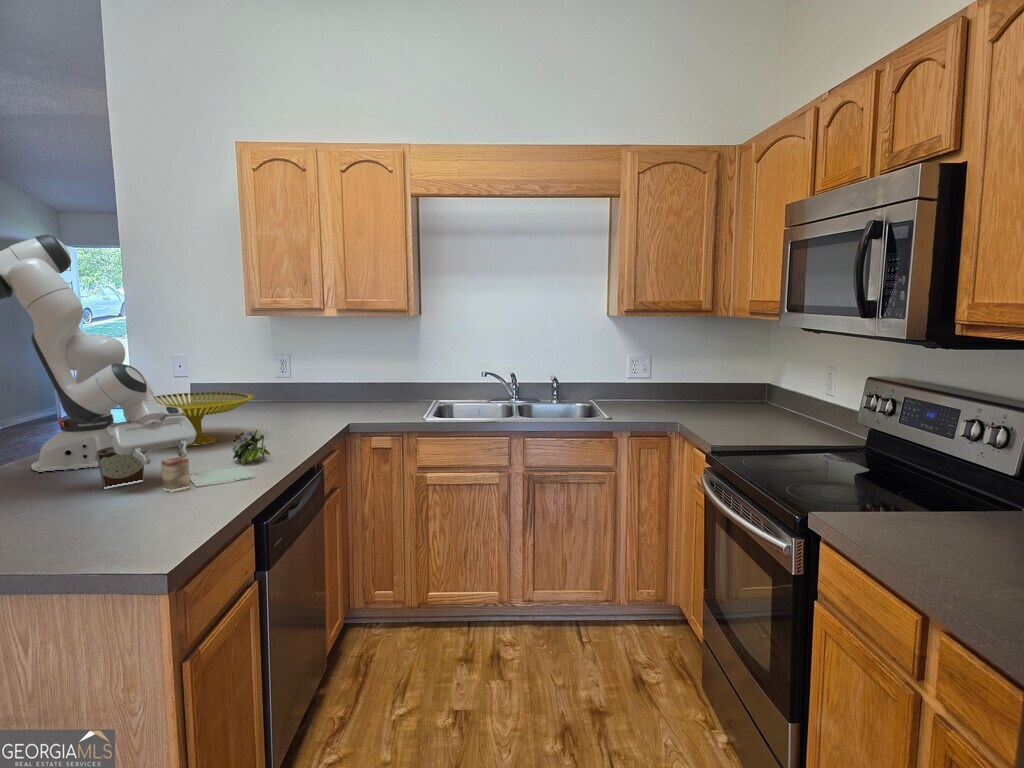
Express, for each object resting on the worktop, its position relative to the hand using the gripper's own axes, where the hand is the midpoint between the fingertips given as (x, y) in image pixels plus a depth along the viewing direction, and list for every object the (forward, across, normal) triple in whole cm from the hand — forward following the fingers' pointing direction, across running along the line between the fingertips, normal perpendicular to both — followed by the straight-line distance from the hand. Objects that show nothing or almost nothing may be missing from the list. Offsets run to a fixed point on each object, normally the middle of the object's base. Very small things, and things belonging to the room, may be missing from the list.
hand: (165, 459), depth 169 cm
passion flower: (-1, +30, +12) cm, 32 cm away
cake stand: (-30, +33, +41) cm, 61 cm away
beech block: (+8, +1, +3) cm, 8 cm away
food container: (-5, -6, +16) cm, 17 cm away
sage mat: (+6, +14, +4) cm, 16 cm away
